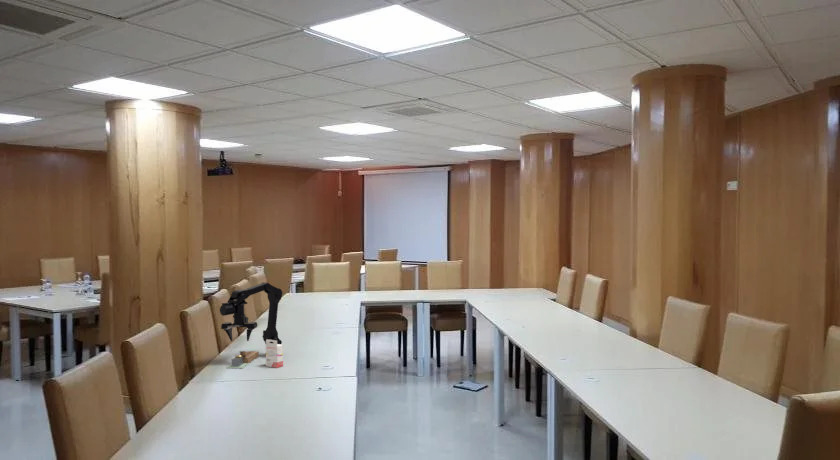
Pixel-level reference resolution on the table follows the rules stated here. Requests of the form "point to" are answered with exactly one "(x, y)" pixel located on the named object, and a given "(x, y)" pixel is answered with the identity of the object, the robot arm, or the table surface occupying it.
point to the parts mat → (239, 366)
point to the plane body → (249, 356)
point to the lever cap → (237, 361)
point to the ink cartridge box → (274, 354)
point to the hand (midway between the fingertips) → (239, 340)
